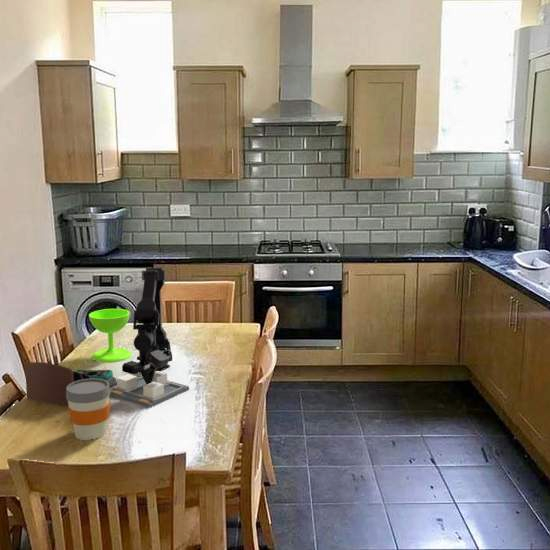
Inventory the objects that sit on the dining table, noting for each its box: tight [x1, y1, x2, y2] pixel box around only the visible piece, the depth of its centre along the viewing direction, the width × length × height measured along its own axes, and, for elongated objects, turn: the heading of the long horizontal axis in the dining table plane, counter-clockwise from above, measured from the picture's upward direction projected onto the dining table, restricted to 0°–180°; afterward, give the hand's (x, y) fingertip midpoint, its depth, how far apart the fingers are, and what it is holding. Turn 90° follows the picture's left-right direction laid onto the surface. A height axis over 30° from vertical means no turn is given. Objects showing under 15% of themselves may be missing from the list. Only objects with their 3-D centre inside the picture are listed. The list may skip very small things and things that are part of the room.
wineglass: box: [88, 308, 132, 363], centre depth 250 cm, size 16×16×18 cm
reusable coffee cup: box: [66, 378, 111, 441], centre depth 182 cm, size 13×12×15 cm
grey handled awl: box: [106, 376, 117, 388], centre depth 216 cm, size 14×3×3 cm
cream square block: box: [143, 382, 164, 399], centre depth 207 cm, size 5×5×4 cm
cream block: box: [151, 371, 168, 385], centre depth 217 cm, size 5×5×4 cm
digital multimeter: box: [74, 369, 114, 380], centre depth 227 cm, size 7×15×3 cm, turn 90°
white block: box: [116, 373, 138, 391], centre depth 214 cm, size 5×5×4 cm
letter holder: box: [24, 361, 91, 408], centre depth 208 cm, size 10×20×14 cm, turn 69°
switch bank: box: [109, 375, 190, 408], centre depth 214 cm, size 19×20×2 cm
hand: (148, 385), depth 214 cm, fingers closed
